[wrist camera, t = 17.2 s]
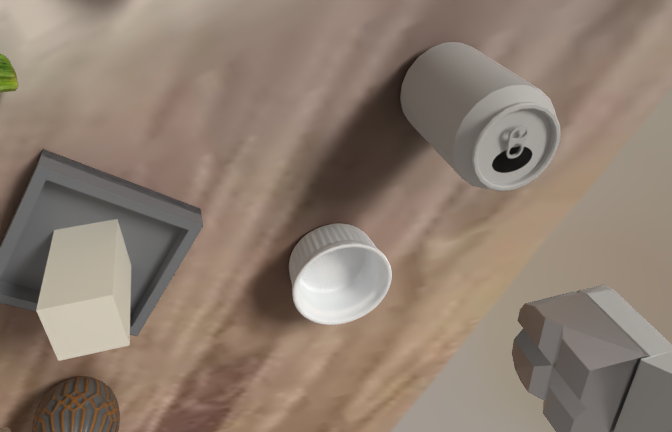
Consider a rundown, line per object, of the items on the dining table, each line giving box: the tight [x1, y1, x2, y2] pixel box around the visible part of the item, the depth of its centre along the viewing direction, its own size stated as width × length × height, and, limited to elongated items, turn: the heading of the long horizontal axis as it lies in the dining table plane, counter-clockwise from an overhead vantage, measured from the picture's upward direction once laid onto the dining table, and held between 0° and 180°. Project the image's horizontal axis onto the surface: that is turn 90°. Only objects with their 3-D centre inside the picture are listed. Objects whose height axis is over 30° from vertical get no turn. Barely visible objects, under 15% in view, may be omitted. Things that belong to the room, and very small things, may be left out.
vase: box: [32, 376, 120, 432], centre depth 49 cm, size 7×7×9 cm
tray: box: [0, 149, 203, 336], centre depth 44 cm, size 12×12×2 cm
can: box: [400, 42, 560, 191], centre depth 41 cm, size 8×8×12 cm
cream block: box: [36, 219, 131, 361], centre depth 41 cm, size 4×4×9 cm
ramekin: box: [289, 223, 392, 325], centre depth 51 cm, size 9×9×4 cm
